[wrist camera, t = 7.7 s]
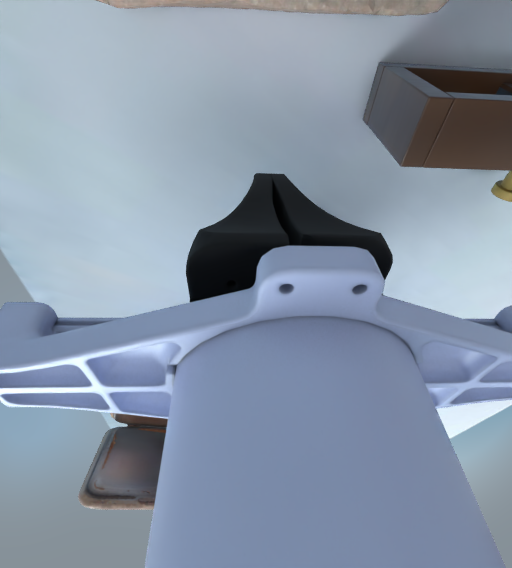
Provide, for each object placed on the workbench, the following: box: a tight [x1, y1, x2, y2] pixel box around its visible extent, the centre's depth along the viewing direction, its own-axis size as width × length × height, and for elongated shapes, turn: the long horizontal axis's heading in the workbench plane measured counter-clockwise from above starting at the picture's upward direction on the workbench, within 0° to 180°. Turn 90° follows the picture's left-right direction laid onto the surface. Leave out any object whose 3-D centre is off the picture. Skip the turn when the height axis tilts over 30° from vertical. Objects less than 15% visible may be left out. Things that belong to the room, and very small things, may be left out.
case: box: [79, 413, 168, 510], centre depth 47 cm, size 20×21×16 cm
